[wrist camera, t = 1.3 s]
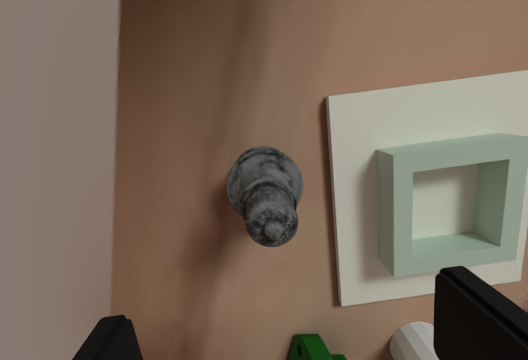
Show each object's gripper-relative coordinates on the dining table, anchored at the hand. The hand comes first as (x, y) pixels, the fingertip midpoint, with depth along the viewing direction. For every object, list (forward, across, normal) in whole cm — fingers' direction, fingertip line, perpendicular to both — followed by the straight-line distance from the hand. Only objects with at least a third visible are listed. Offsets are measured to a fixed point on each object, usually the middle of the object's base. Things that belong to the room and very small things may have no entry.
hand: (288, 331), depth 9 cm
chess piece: (+18, 0, -1) cm, 18 cm away
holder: (+17, -15, +3) cm, 23 cm away
